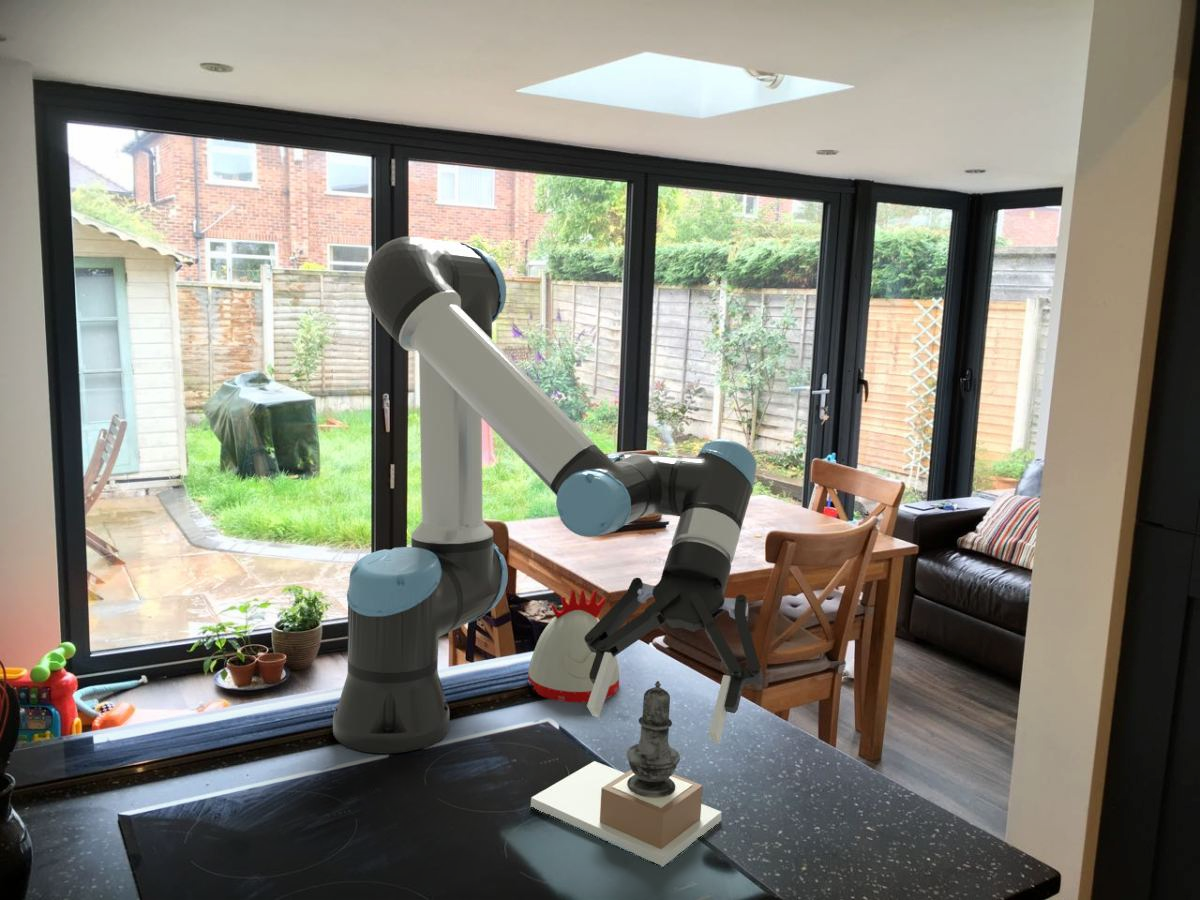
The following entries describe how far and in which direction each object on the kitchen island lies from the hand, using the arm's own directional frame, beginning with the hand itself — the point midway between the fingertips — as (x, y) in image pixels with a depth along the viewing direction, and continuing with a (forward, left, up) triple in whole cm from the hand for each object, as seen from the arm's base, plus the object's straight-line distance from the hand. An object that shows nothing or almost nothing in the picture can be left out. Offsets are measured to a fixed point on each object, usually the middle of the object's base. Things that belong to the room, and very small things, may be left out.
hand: (651, 725), depth 101 cm
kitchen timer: (-33, +29, -14) cm, 46 cm away
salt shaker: (-1, +2, -8) cm, 8 cm away
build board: (-5, +3, -13) cm, 14 cm away
